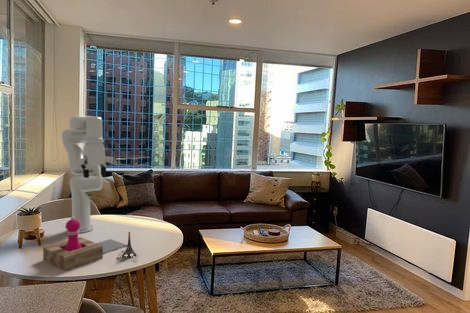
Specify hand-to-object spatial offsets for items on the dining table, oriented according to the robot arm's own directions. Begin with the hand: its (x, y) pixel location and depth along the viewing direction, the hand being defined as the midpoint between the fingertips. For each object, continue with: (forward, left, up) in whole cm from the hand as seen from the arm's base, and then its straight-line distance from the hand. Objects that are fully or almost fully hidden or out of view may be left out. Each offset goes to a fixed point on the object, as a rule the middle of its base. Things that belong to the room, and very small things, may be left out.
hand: (95, 176), depth 174 cm
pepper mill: (+7, -16, -36) cm, 40 cm away
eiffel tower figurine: (+23, +2, -36) cm, 43 cm away
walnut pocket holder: (+7, -16, -36) cm, 40 cm away
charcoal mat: (+5, +3, -36) cm, 36 cm away
